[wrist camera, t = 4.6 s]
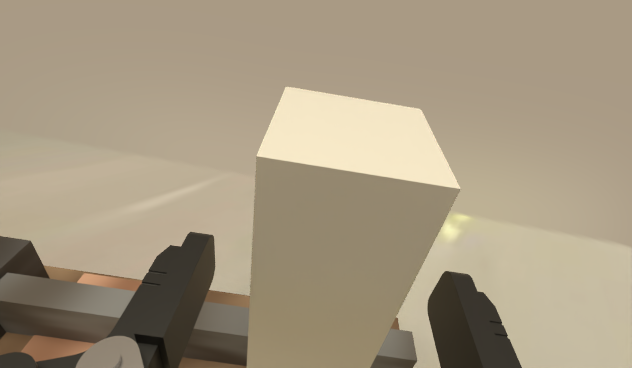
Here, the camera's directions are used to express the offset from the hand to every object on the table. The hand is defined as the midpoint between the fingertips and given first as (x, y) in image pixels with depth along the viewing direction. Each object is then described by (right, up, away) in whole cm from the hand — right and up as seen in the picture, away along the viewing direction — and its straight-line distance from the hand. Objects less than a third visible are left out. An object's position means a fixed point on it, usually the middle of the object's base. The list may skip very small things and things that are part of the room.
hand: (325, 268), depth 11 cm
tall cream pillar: (-1, -5, +6) cm, 8 cm away
